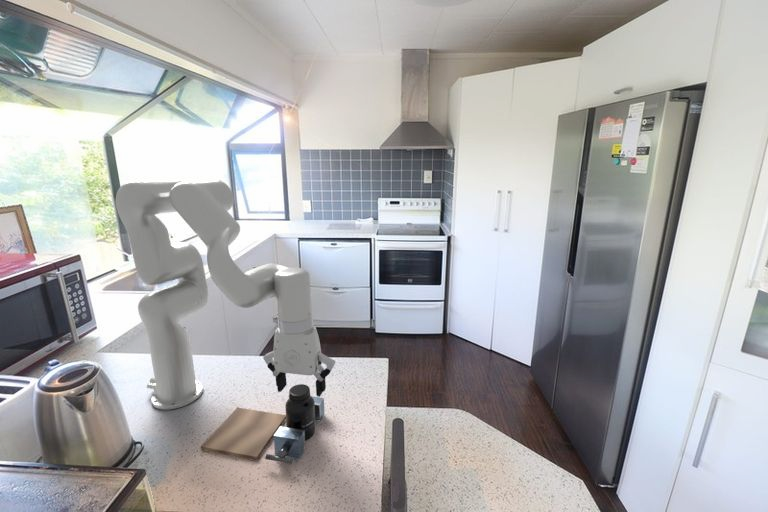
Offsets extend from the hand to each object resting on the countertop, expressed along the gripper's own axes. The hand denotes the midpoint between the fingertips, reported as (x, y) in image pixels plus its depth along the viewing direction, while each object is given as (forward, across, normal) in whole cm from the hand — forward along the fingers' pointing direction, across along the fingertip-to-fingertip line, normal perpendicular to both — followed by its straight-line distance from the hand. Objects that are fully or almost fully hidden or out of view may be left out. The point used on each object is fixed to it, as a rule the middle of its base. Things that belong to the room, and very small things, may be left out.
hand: (301, 390), depth 85 cm
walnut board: (+12, -14, -3) cm, 18 cm away
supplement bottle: (+12, -1, 0) cm, 12 cm away
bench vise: (+12, -1, -2) cm, 12 cm away
